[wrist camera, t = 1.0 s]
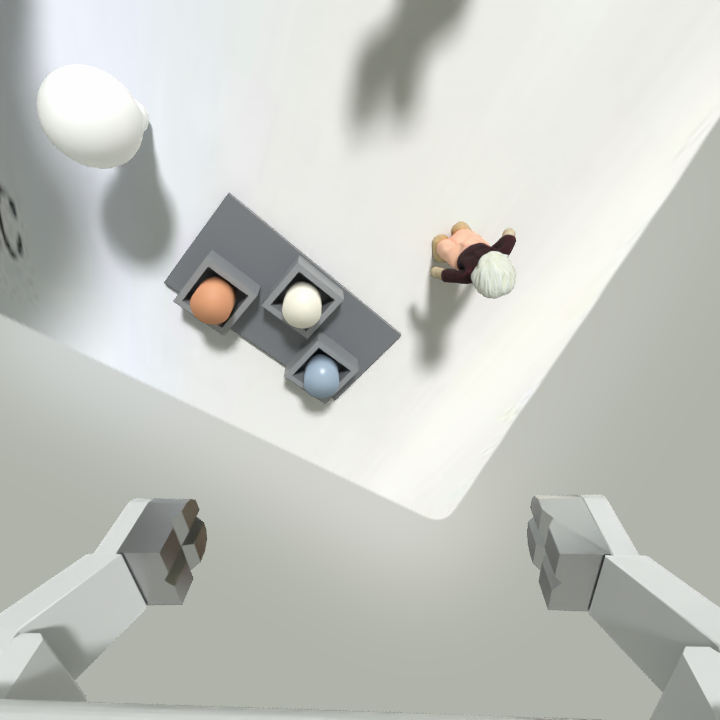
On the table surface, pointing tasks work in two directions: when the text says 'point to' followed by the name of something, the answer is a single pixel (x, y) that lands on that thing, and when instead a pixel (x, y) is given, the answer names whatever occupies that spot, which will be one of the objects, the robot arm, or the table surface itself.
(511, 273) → the grandmother figurine
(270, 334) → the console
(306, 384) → the slate button
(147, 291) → the table surface
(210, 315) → the rust button
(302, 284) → the cream button
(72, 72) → the lightbulb
